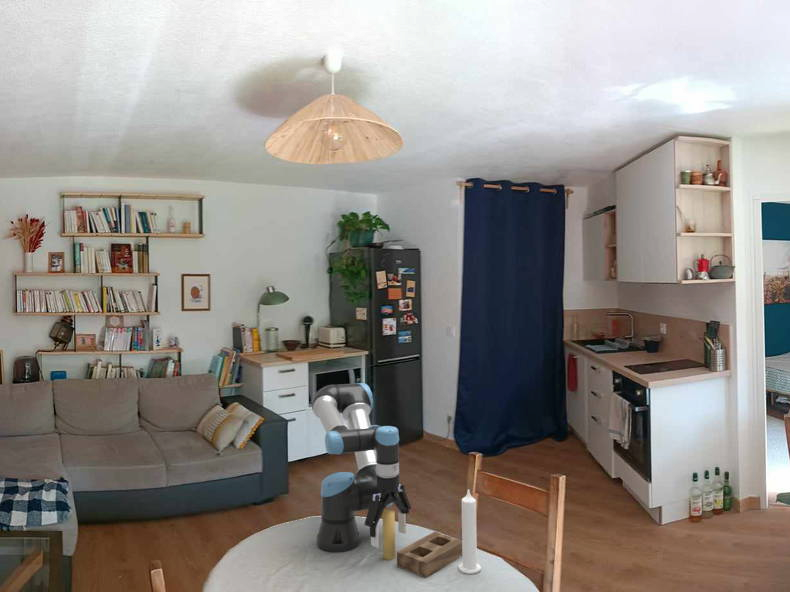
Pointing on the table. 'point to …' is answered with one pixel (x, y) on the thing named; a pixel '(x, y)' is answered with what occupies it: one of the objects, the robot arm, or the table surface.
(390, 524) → the peg
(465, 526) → the candle
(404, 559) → the socket block
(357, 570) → the table surface
